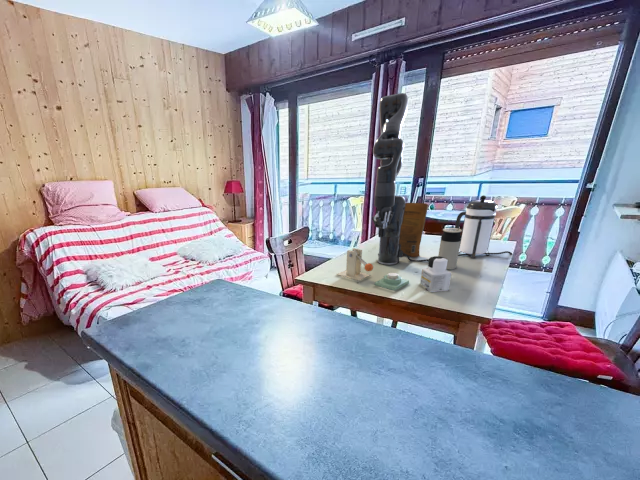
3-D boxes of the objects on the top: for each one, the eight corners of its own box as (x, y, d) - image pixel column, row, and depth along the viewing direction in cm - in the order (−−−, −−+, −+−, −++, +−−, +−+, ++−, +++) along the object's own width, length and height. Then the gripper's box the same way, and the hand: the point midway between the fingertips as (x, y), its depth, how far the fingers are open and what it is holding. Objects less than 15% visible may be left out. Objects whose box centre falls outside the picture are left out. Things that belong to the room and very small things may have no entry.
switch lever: (372, 271, 144) (376, 266, 141) (367, 274, 142) (371, 268, 139) (352, 254, 149) (356, 248, 147) (347, 255, 147) (351, 250, 145)
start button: (390, 275, 139) (390, 272, 138) (399, 278, 136) (399, 274, 135) (385, 278, 137) (385, 274, 136) (394, 280, 134) (394, 276, 133)
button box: (388, 280, 144) (389, 271, 143) (408, 285, 138) (409, 276, 136) (374, 287, 138) (375, 278, 136) (394, 292, 131) (395, 283, 130)
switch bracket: (370, 277, 149) (372, 250, 144) (358, 282, 144) (360, 254, 139) (348, 271, 157) (349, 245, 153) (336, 276, 152) (337, 250, 148)
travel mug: (458, 269, 151) (465, 231, 144) (439, 269, 152) (445, 231, 145) (452, 264, 158) (458, 227, 151) (434, 264, 159) (440, 227, 153)
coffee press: (489, 251, 172) (501, 193, 161) (489, 260, 160) (503, 197, 149) (451, 248, 181) (460, 193, 170) (449, 256, 169) (459, 197, 158)
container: (419, 285, 137) (423, 255, 132) (437, 283, 137) (441, 254, 132) (430, 292, 129) (434, 261, 125) (448, 290, 130) (454, 259, 125)
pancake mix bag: (418, 259, 168) (425, 204, 157) (383, 253, 181) (387, 202, 171) (423, 256, 172) (431, 202, 162) (389, 250, 185) (393, 200, 175)
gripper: (384, 191, 135) (381, 232, 141) (366, 195, 127) (364, 239, 134) (402, 192, 129) (398, 234, 136) (384, 196, 122) (381, 241, 128)
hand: (381, 236), depth 135 cm, fingers closed
